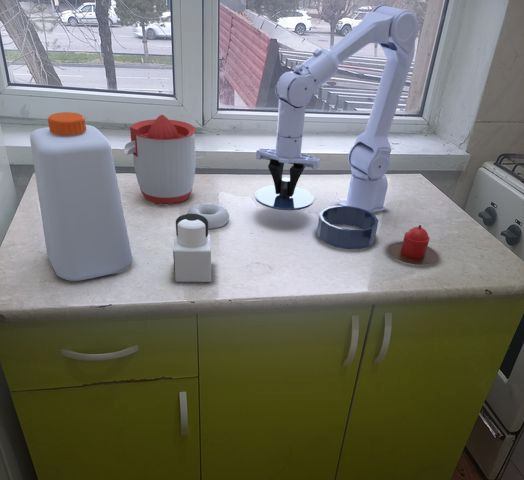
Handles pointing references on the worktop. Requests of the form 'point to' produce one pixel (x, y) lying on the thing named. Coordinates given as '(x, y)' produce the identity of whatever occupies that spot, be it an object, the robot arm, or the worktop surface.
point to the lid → (284, 197)
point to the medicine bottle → (192, 249)
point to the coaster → (428, 258)
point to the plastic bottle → (79, 199)
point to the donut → (211, 214)
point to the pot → (347, 236)
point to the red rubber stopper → (415, 243)
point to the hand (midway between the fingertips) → (284, 193)
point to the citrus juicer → (163, 159)
